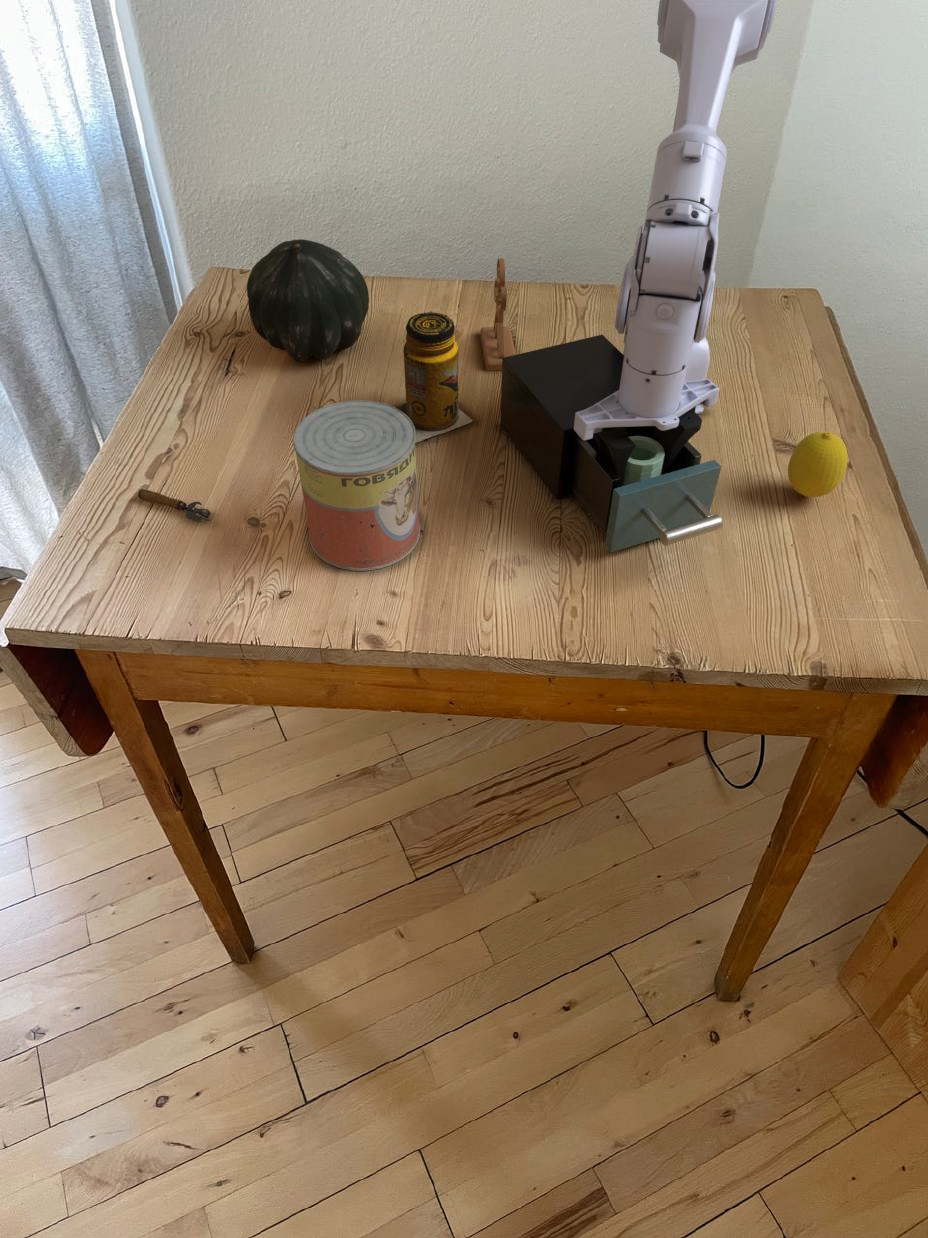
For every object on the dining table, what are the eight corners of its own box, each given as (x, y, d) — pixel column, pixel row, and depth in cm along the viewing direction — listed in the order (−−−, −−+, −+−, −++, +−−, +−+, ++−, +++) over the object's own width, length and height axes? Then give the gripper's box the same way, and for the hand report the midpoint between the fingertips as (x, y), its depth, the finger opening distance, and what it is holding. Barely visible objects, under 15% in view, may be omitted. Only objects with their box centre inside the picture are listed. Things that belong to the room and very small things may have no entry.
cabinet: (657, 471, 99) (671, 401, 92) (557, 500, 95) (563, 430, 89) (593, 401, 108) (602, 334, 101) (499, 426, 104) (502, 357, 98)
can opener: (138, 500, 95) (135, 492, 94) (153, 488, 96) (150, 479, 96) (206, 528, 92) (203, 519, 91) (220, 515, 94) (218, 506, 93)
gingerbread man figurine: (480, 333, 118) (481, 243, 109) (509, 332, 119) (513, 242, 110) (486, 370, 112) (488, 278, 103) (517, 369, 113) (522, 277, 104)
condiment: (473, 422, 105) (474, 327, 96) (410, 446, 102) (405, 350, 93) (439, 392, 109) (437, 299, 100) (378, 414, 106) (370, 320, 97)
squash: (318, 257, 121) (253, 198, 107) (406, 294, 116) (349, 236, 102) (271, 353, 122) (201, 307, 108) (356, 394, 117) (293, 351, 103)
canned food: (377, 586, 87) (367, 488, 78) (286, 544, 91) (267, 446, 82) (441, 520, 93) (439, 423, 84) (353, 483, 97) (342, 387, 88)
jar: (640, 470, 94) (648, 430, 91) (665, 497, 92) (673, 457, 88) (601, 481, 93) (607, 442, 90) (625, 509, 90) (632, 469, 87)
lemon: (834, 485, 97) (858, 423, 91) (831, 517, 94) (856, 454, 88) (782, 474, 98) (802, 412, 93) (777, 506, 95) (797, 443, 89)
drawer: (735, 553, 89) (752, 496, 83) (636, 585, 86) (647, 528, 80) (638, 449, 100) (648, 393, 95) (548, 474, 97) (553, 418, 92)
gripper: (607, 399, 77) (590, 520, 87) (749, 363, 81) (717, 483, 91) (568, 358, 81) (557, 478, 91) (705, 325, 85) (679, 444, 95)
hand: (634, 478), depth 91 cm, fingers closed on jar, 5 cm apart
